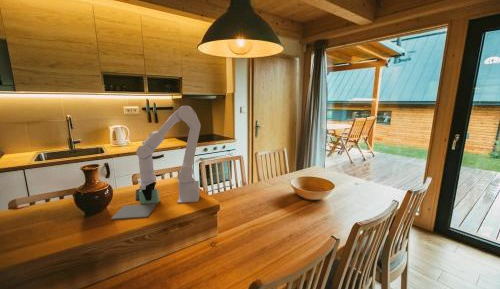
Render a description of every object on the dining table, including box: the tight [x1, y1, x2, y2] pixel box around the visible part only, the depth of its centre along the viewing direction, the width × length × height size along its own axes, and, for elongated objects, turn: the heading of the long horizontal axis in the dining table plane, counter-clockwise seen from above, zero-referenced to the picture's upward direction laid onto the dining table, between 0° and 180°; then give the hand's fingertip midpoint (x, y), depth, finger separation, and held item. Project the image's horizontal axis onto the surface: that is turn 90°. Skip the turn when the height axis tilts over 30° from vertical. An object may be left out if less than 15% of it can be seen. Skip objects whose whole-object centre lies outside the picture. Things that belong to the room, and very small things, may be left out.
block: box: [139, 188, 160, 205], centre depth 107 cm, size 8×2×6 cm, turn 96°
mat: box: [110, 203, 158, 221], centre depth 98 cm, size 14×12×1 cm
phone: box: [135, 188, 140, 202], centre depth 118 cm, size 8×1×15 cm
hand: (149, 199), depth 107 cm, fingers closed on block, 2 cm apart
